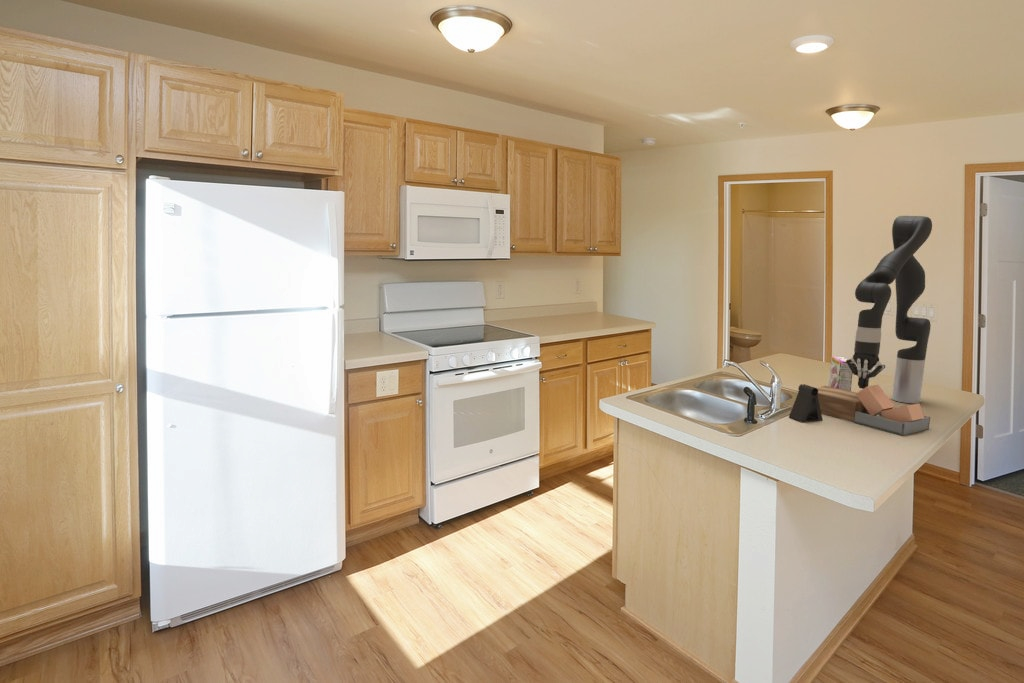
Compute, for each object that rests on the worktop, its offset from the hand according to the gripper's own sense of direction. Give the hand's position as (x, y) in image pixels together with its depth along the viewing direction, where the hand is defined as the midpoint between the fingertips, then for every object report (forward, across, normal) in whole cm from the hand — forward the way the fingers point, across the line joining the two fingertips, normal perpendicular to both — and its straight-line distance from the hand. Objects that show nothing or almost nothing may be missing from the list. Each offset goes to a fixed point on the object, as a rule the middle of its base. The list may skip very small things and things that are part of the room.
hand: (862, 388), depth 205 cm
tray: (+11, -10, 0) cm, 15 cm away
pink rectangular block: (+5, -3, +1) cm, 6 cm away
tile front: (+4, -13, 0) cm, 13 cm away
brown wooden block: (+11, +8, 0) cm, 13 cm away
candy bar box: (+11, +19, -18) cm, 28 cm away
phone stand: (+11, +8, +19) cm, 23 cm away
